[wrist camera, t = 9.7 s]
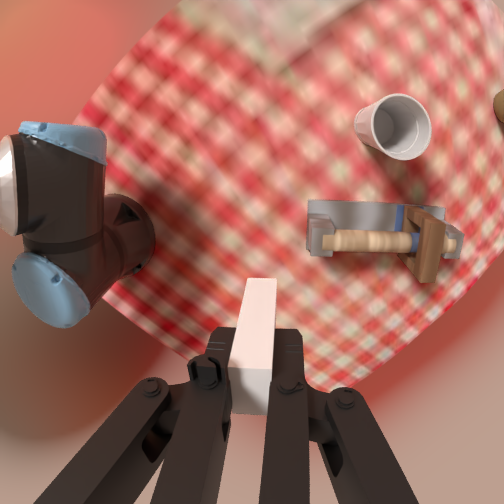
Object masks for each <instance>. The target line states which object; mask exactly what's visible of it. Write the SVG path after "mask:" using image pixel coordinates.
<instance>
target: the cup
mask: <svg viewBox="0 0 504 504" xmlns="http://www.w3.org/2000/svg"><path fill="white" fill-rule="evenodd" d="M354 129H355V132H356V135H357V136H358V138H359V139H360V140H361V141H362V142H363V143H365V144H367V145H369V146H372V147H374V148H376V149H378V150H380V151H381V152H383V153H385V154H386V155H388V156H390V157H392V158H394V159H397V160H411V159H414V158H416V157H418V156H420V155H421V154H422V153H423V152H424V151H425V150H426V148H427V146H428V144H429V142H430V139H431V132H432V129H431V122H430V118H429V116H428V114H427V112H426V110H425V108H424V107H423V106H422V105H421V104H420V103H419V102H418V101H417V100H416V99H414V98H412V97H410V96H408V95H405V94H391V95H388V96H386V97H384V98H382V99H381V100H379V101H377V102H375V103H373V104H372V105H370V106H368V107H365V108H363V109H361V110H360V111H359V112H358V113H357V115H356V117H355V120H354Z"/></svg>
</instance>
